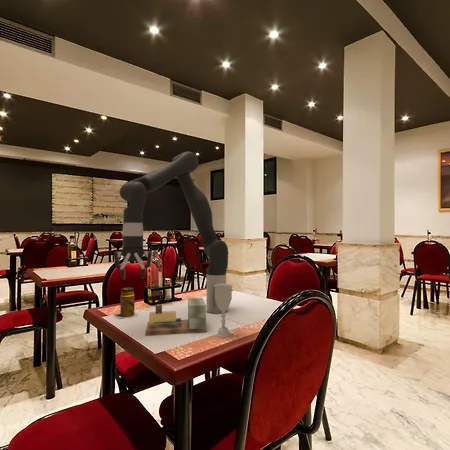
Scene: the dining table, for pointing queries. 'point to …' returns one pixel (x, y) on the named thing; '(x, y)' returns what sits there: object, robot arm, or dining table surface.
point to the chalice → (223, 304)
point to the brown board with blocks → (183, 321)
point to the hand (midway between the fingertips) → (133, 278)
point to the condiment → (126, 303)
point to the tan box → (161, 316)
